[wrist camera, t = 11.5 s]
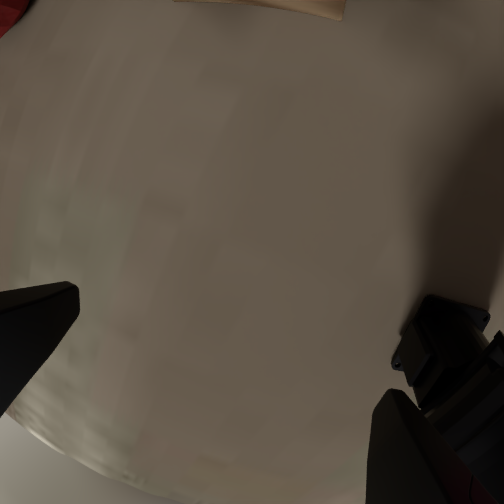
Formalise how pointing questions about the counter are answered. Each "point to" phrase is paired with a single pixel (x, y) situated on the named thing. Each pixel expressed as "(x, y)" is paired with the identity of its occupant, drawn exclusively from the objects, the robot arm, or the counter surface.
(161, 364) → the counter surface
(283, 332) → the counter surface
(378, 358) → the counter surface
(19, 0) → the apple
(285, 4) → the plinth
